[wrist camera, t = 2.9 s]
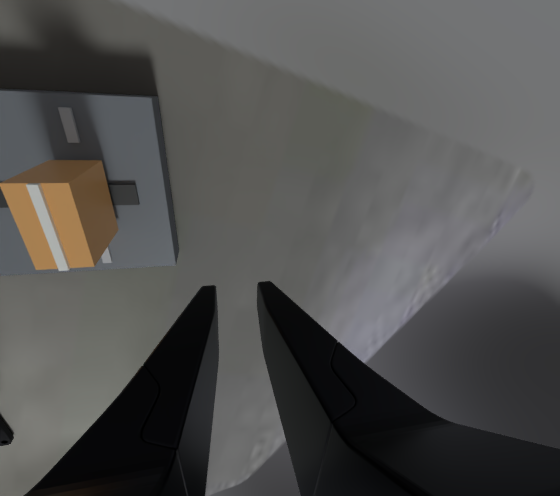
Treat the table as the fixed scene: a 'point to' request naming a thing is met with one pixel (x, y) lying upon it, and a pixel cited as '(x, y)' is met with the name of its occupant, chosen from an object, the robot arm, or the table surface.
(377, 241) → the table surface
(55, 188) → the fader knob
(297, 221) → the table surface
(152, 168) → the fader panel
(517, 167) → the table surface
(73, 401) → the table surface
